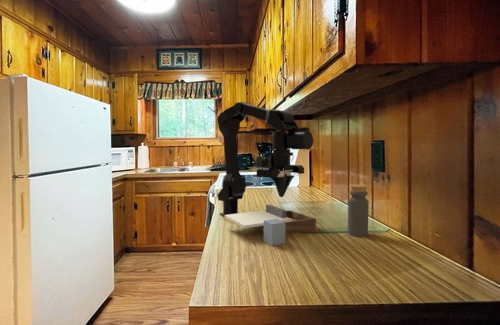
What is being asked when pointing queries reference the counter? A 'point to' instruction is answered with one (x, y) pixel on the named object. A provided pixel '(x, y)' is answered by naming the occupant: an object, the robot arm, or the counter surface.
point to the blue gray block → (274, 232)
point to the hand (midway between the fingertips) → (281, 196)
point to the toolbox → (297, 223)
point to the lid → (258, 217)
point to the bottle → (358, 211)
